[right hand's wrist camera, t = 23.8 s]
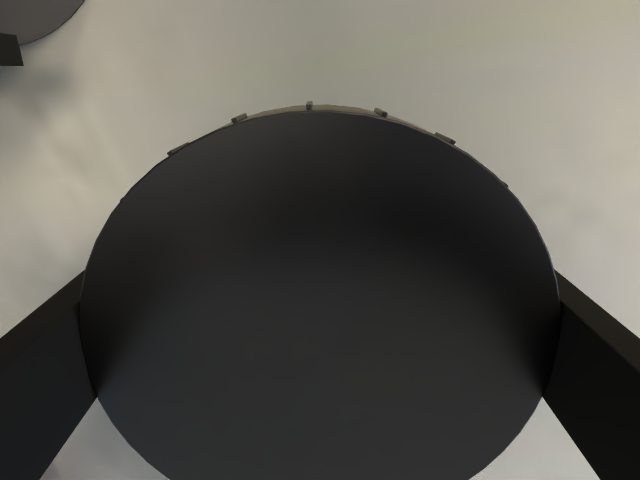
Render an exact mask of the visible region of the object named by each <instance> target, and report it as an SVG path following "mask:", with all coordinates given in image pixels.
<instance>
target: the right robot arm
mask: <svg viewBox="0 0 640 480" xmlns="http://www.w3.org/2000/svg"><path fill="white" fill-rule="evenodd" d="M554 272H555V275H556V279H557V285H558V292H559V300H560V308H561V312H560V338H559V343H558V347H557V352H556V357H555V361H554V366H553V369H552V373H551V376H550V379H549V382H548V385H547V387H546V390H545V391H544V393H543V395H542V397H543V398H544V400H545V401H546V403H547V404H548V405H549V407H550V408H551V410H552V411H553V413H554V414H555V415H556V417H557V418H558V420H559V421H560V423H561V424H562V425H563V427H564V428H565V430H566V431H567V433H568V434H569V435H570V437H571V438H572V440H573V441H574V443H575V444H576V445H577V447H578V448H579V450H580V451H581V453H582V454H583V455H584V457H585V458H586V460H587V461H588V463H589V464H590V465H591V467H592V468H593V470H594V471H595V473H596V474H597V475H598V477H599V478H600V480H640V339H639V338H638V337H637V336H636V335H635V334H633V333H632V332H631V331H630V330H628V329H627V328H626V327H625V326H623V325H622V324H621V323H620V322H619V321H617V320H616V319H615V318H614V317H612V316H611V315H610V314H609V313H607V312H606V311H605V310H604V309H603V308H601V307H600V306H599V305H598V304H596V303H595V302H594V301H593V300H591V299H590V298H589V297H588V296H587V295H585V294H584V293H583V292H582V291H580V290H579V289H578V288H577V287H575V286H574V285H573V284H572V283H571V282H569V281H568V280H567V279H566V278H564V277H563V276H562V275H561V274H559V273H558V272H557V271H556V270H555V269H554ZM84 274H85V270H84V271H83V272H81V273H80V274H79V275H78V276H77V277H75V278H74V279H73V280H72V281H70V282H69V283H68V284H67V285H65V286H64V287H63V288H62V289H61V290H59V291H58V292H57V293H56V294H54V295H53V296H52V297H51V298H49V299H48V300H47V301H46V302H45V303H43V304H42V305H41V306H40V307H38V308H37V309H36V310H35V311H33V312H32V313H31V314H30V315H29V316H27V317H26V318H25V319H24V320H22V321H21V322H20V323H19V324H17V325H16V326H15V327H14V328H13V329H11V330H10V331H9V332H8V333H6V334H5V335H4V336H3V337H1V338H0V480H39V479H40V478H41V477H42V475H43V474H44V472H45V471H46V469H47V468H48V466H49V465H50V464H51V462H52V461H53V459H54V458H55V456H56V455H57V454H58V452H59V451H60V449H61V448H62V446H63V445H64V444H65V442H66V441H67V439H68V438H69V436H70V435H71V434H72V432H73V431H74V429H75V428H76V426H77V425H78V424H79V422H80V421H81V419H82V418H83V416H84V415H85V414H86V412H87V411H88V409H89V408H90V406H91V405H92V404H93V402H94V401H95V399H96V398H97V395H96V392H95V390H94V388H93V385H92V383H91V381H90V378H89V376H88V372H87V368H86V364H85V359H84V355H83V351H82V346H81V339H80V330H79V308H80V294H81V289H82V284H83V279H84Z"/></svg>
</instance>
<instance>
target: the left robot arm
mask: <svg viewBox="0 0 640 480" xmlns="http://www.w3.org/2000/svg"><path fill="white" fill-rule="evenodd" d="M0 66H24V65H23V61H22V57H21V52H20V48H19V44H18V39H17V35H12V34H5V33H0Z"/></svg>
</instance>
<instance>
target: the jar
mask: <svg viewBox="0 0 640 480" xmlns="http://www.w3.org/2000/svg"><path fill="white" fill-rule="evenodd" d="M83 1H84V0H0V33H5V34H12V35H17V39H18V44H19V45H22V44H26V43H29V42H32V41H34V40H37V39H39V38H42V37H44V36H45V35H47V34H49V33H50V32H52V31H54V30H55V29H57V28H58V27H59V26H60V25H62V24H63V23H64V22H65V21H66V20H67V19H69V18H70V17H71V16H72V15H73V13H74V12H75V11H76V10H77V9H78V7H79V6H80V5H81V4H82V3H83Z"/></svg>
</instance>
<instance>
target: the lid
mask: <svg viewBox="0 0 640 480" xmlns="http://www.w3.org/2000/svg"><path fill="white" fill-rule="evenodd" d="M387 114H388V113H387V112H385V111H383V110H381V109H378V108H375V110H374V111H370V110H365V109H361V108H355V107H345V106H335V105H313V104H312V101H308V102H307V104H306V106H292V107H286V108H281V109H275V110H269V111H264V112H261V113H258V114H254V115H251V116H248V117H247V114H246V113H244V114H242V115H239V116H237V117H235V118H233V119H231V120H232V122H231V123H229V124H227V125H225V126H223V127H221V128H219V129H217V130H215V131H213V132H211V133H209V134H207V135H205V136H203V137H201V138H199V139H196V140H194V141H192V142H190V143H188V142H187V143H185V144H183V145H181V146H179V147H177V148H175V149H173V150H171V151H169V152H168V153H167V154H168V155H169V156H168V157H167V158H165V159H164V160H162V161H161V162H160V163H158V164H157V165H155V166H154V167H153V168H152V169H151V170H150V171H149V172H148V173H147V174H146V175H145V176H144V177H142V178H141V179H140V180H139V181H138V182H137V183H136V184H135V185H134V186H133V187H132V188H131V189H130V190H129V191H128V193H127V194H126V195H125V196H124V197H123V198H122V199H121V200H120V203H119V204H118V205H117V206H116V208H115V209H114V210H113V211H112V213H111V214H110V216H109V218H108V220H107V221H106V223H105V225H104V227H103V229H102V230H101V232H100V234H99V236H98V237H97V239H96V241H95V244H94V247H93V249H92V252H91V255H90V258H89V260H88V263H87V266H86V269H85V274H84V279H83V284H82V289H81V294H80V308H79V330H80V339H81V346H82V351H83V355H84V359H85V364H86V368H87V372H88V376H89V378H90V381H91V383H92V385H93V388H94V390H95V392H96V395H97V397H98V399H99V402H100V403H101V405H102V407H103V408H104V410H105V412H106V413H107V415H108V417H109V418H110V420H111V421H112V423H113V424H114V426H115V427H116V428H117V430H118V431H119V432H120V433H121V435H122V436H123V437H124V438H125V440H126V441H127V442H128V443H129V445H131V446H132V447H133V448H134V449H135V450H136V451H137V452H138V453H139V454H140V455H141V456H142V457H143V458H144V459H145V460H146V461H147V462H148V463H149V464H150V465H152V466H153V467H154V468H155V469H157V470H158V471H159V472H161V473H162V474H163V475H164V476H166V477H167V478H168V479H170V480H469V479H470V478H472V477H473V476H475V475H476V474H477V473H479V472H480V471H482V470H483V469H484V468H485V467H487V466H488V465H489V464H490V463H491V462H492V461H493V460H494V459H495V458H497V457H498V456H499V455H500V454H501V453H502V452H503V451H504V450H505V449H506V448H507V447H508V446H509V444H510V443H511V442H512V441H513V440H514V439H515V438H516V436H517V435H518V434H519V433H520V432H521V430H522V429H523V427H524V426H525V424H526V423H527V422H528V420H529V419H530V417H531V416H532V414H533V413H534V411H535V409H536V407H537V405H538V403H539V401H540V399H541V397H542V395H543V393H544V391H545V390H546V387H547V385H548V382H549V379H550V376H551V373H552V369H553V366H554V361H555V357H556V352H557V347H558V343H559V338H560V312H561V308H560V300H559V292H558V285H557V279H556V275H555V272H554V268H553V265H552V262H551V258H550V255H549V252H548V250H547V247H546V245H545V243H544V241H543V239H542V237H541V235H540V233H539V231H538V229H537V226H536V224H535V223H534V222H533V220H532V219H531V217H530V216H529V214H528V213H527V211H526V210H525V208H524V207H523V206H522V204H521V203H520V201H519V200H518V198H517V197H516V196H515V195H514V194H513V193H512V192H511V191H510V190H509V189H508V188H507V187H508V185H507V184H506V183H504V182H503V181H501V180H500V179H499V178H498V177H497V176H496V175H495V174H494V173H492V172H491V171H490V170H489V169H487V168H486V167H485V166H483V165H482V164H481V163H480V162H478V161H477V160H476V159H475V158H473V157H472V156H471V155H469V154H468V153H466V152H465V151H463V150H461V149H459V148H458V147H456V146H454V144H455V141H454V140H452V139H450V138H448V137H446V136H443V135H441V134H439V133H437V132H436V133H435V135H434V134H432V133H430V132H428V131H426V130H424V129H422V128H420V127H418V126H415V125H413V124H410V123H408V122H405V121H403V120H400V119H397V118H395V117H392V116H390V115H387Z"/></svg>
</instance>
